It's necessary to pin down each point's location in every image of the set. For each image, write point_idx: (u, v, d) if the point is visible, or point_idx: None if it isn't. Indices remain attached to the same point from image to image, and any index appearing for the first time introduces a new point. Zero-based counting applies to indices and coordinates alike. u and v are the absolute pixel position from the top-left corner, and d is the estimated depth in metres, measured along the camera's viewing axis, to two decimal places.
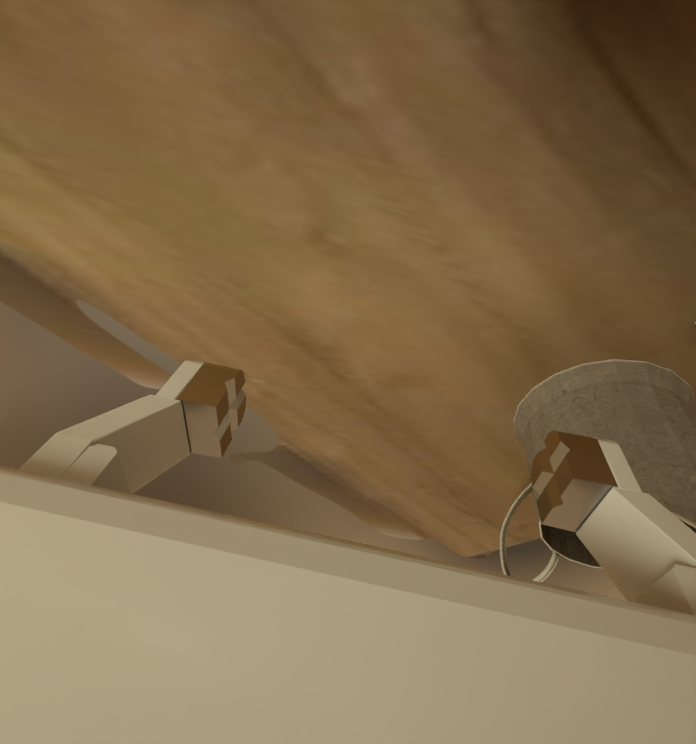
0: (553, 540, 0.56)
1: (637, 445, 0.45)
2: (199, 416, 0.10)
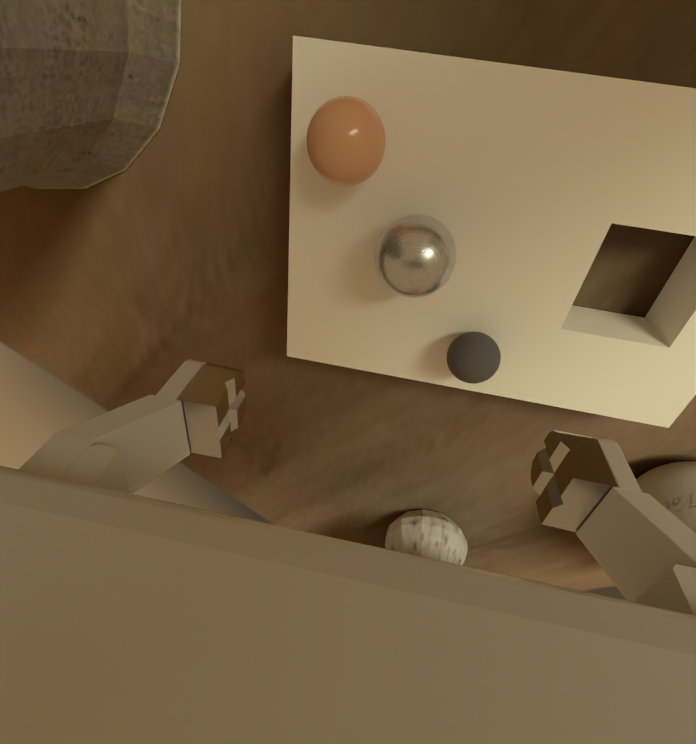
0: None
1: None
2: (199, 416, 0.10)
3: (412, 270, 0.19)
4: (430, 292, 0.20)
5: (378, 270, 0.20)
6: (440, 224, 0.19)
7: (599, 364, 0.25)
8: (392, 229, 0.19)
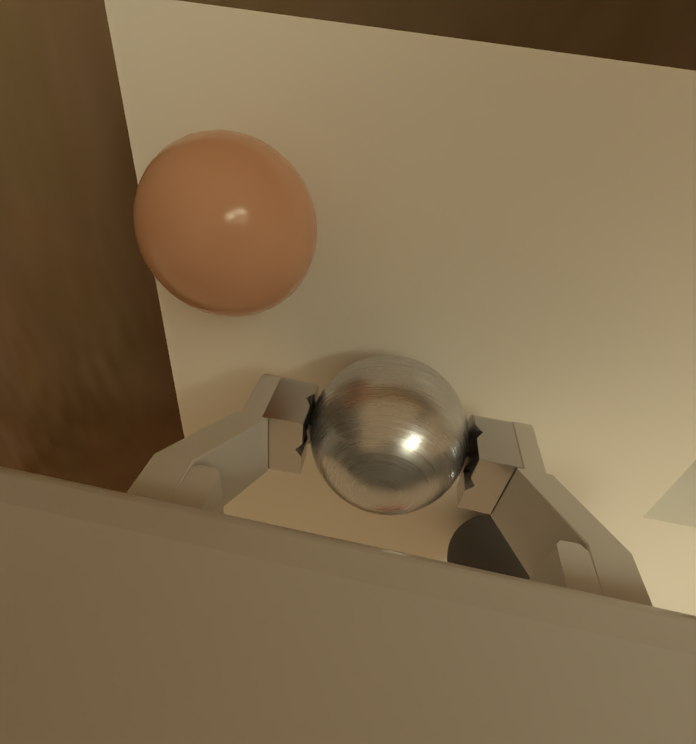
0: None
1: None
2: (284, 433, 0.10)
3: (378, 492, 0.09)
4: None
5: None
6: (437, 388, 0.09)
7: None
8: (338, 398, 0.09)
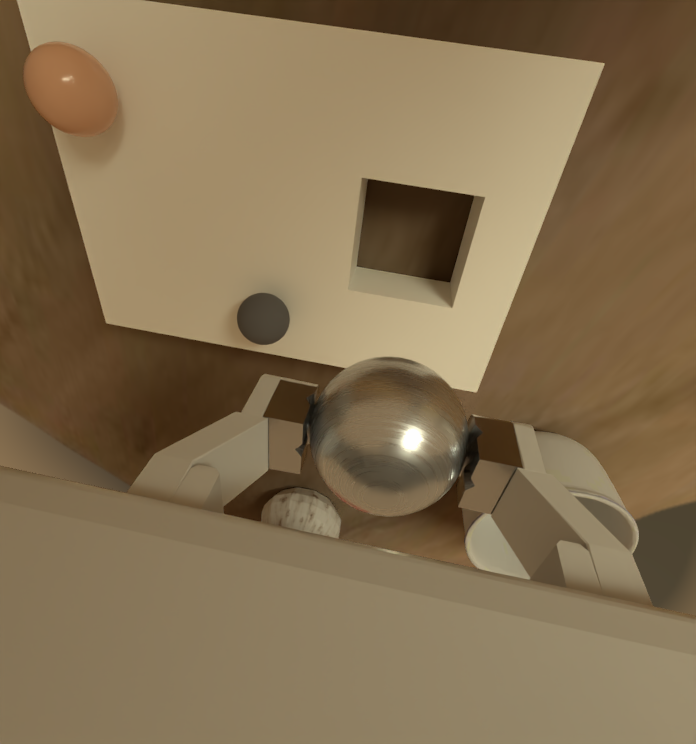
0: None
1: None
2: (284, 433, 0.10)
3: (378, 494, 0.09)
4: None
5: (315, 465, 0.10)
6: (437, 390, 0.09)
7: (394, 326, 0.25)
8: (338, 400, 0.09)
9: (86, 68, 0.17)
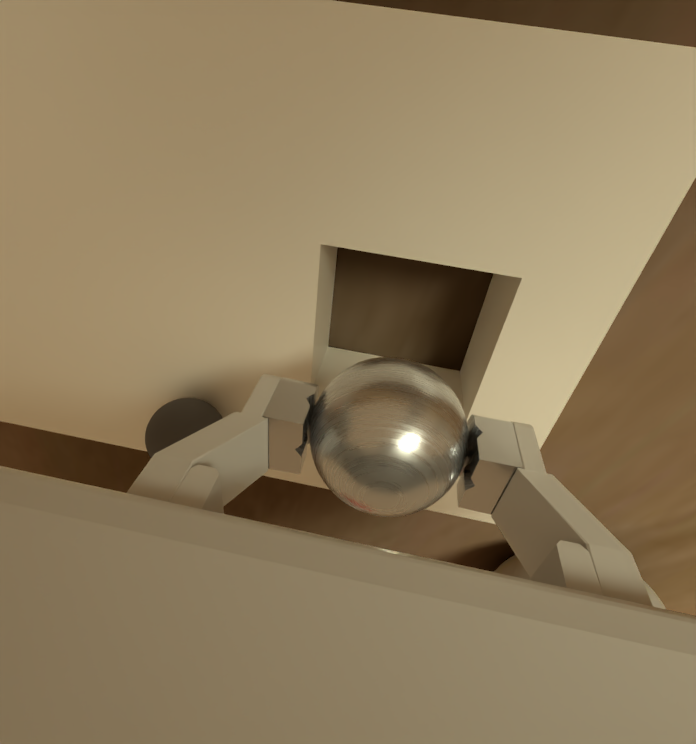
0: None
1: None
2: (284, 433, 0.10)
3: (378, 494, 0.09)
4: None
5: (315, 465, 0.10)
6: (437, 390, 0.09)
7: None
8: (338, 401, 0.09)
9: None
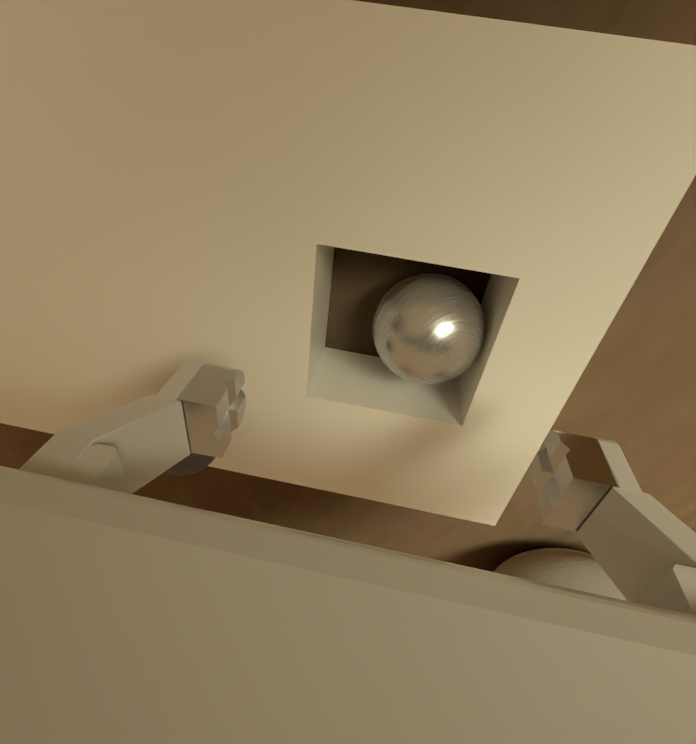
0: None
1: None
2: (199, 416, 0.10)
3: (457, 359, 0.14)
4: None
5: (396, 364, 0.14)
6: (462, 284, 0.14)
7: (376, 443, 0.17)
8: (412, 309, 0.13)
9: None
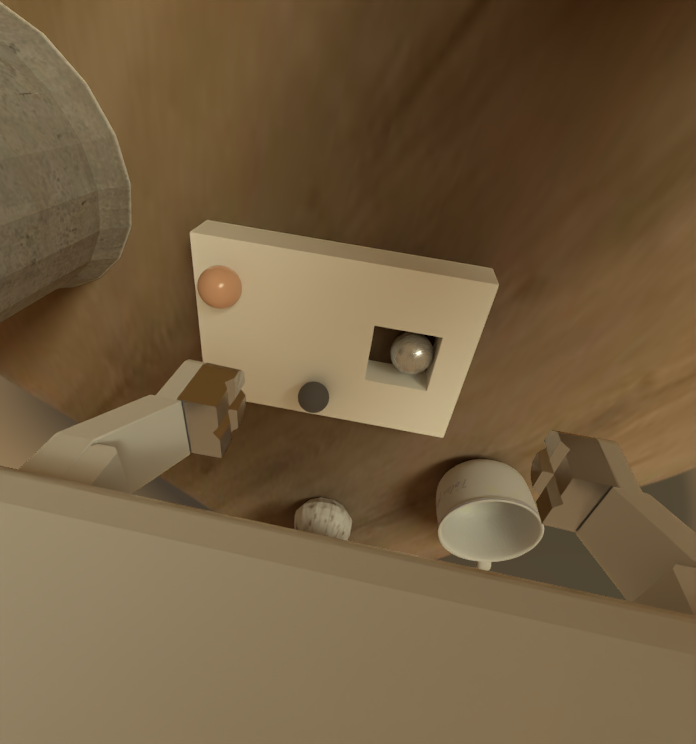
0: None
1: None
2: (199, 416, 0.10)
3: (421, 364, 0.38)
4: None
5: (399, 366, 0.38)
6: (424, 336, 0.38)
7: (392, 400, 0.41)
8: (405, 346, 0.37)
9: (232, 281, 0.33)
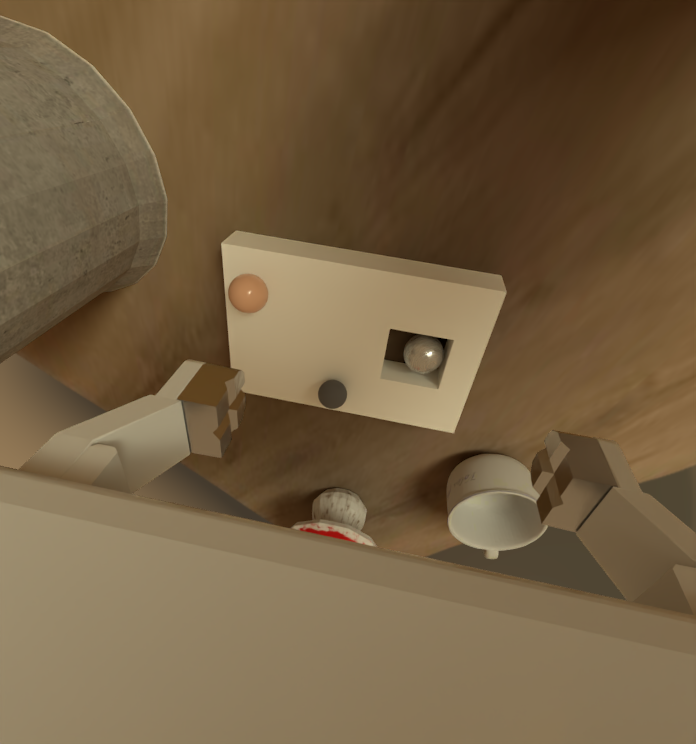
0: None
1: (19, 178, 0.26)
2: (199, 416, 0.10)
3: (431, 364, 0.40)
4: None
5: (410, 365, 0.41)
6: (435, 339, 0.41)
7: (405, 397, 0.44)
8: (416, 347, 0.40)
9: (260, 288, 0.36)
